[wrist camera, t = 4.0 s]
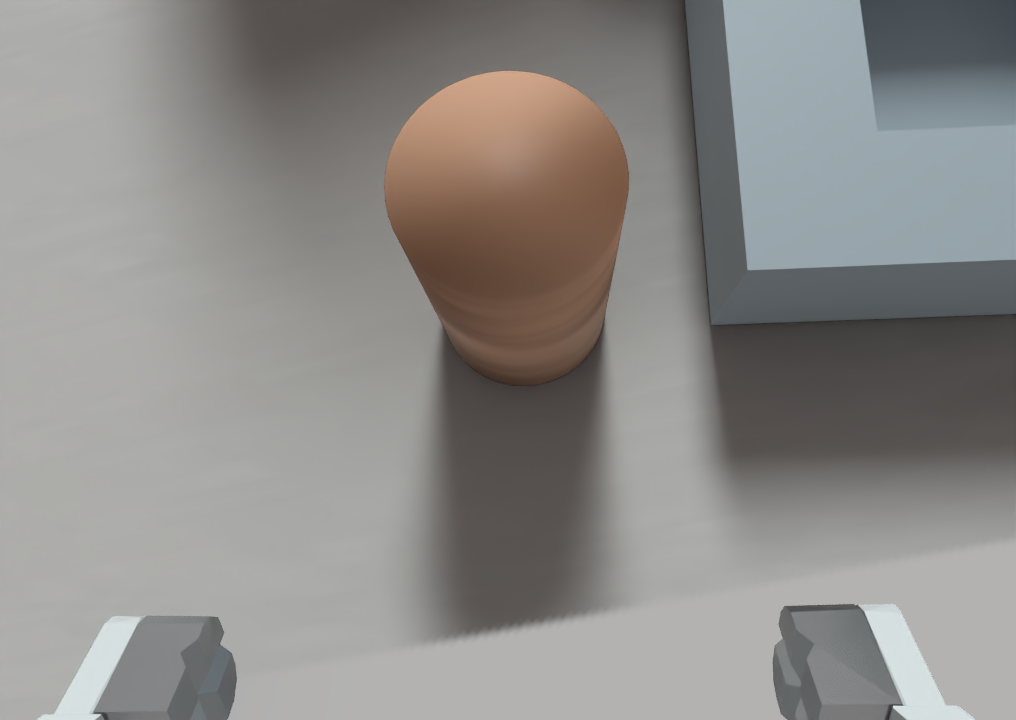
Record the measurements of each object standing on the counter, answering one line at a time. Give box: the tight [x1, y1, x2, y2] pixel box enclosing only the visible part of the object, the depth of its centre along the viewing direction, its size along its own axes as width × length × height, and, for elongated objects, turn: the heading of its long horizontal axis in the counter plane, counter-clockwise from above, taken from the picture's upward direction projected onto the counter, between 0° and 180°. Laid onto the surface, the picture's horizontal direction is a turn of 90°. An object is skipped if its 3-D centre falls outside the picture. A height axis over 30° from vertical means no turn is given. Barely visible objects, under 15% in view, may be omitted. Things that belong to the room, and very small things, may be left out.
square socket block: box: [685, 0, 1016, 325], centre depth 24 cm, size 14×14×5 cm
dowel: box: [384, 71, 629, 386], centre depth 21 cm, size 5×5×9 cm
